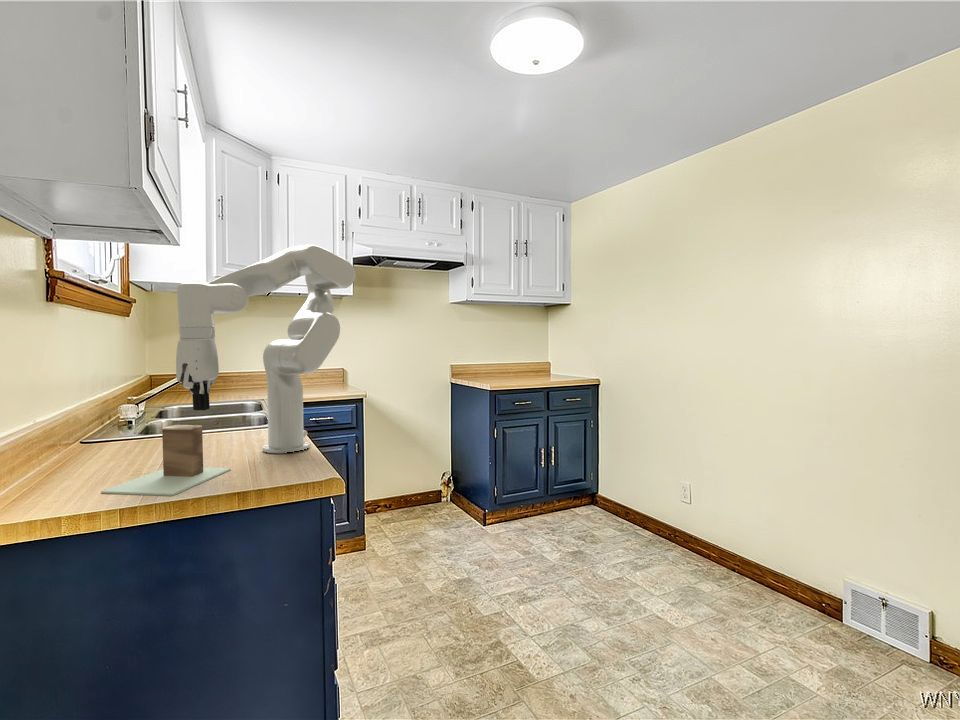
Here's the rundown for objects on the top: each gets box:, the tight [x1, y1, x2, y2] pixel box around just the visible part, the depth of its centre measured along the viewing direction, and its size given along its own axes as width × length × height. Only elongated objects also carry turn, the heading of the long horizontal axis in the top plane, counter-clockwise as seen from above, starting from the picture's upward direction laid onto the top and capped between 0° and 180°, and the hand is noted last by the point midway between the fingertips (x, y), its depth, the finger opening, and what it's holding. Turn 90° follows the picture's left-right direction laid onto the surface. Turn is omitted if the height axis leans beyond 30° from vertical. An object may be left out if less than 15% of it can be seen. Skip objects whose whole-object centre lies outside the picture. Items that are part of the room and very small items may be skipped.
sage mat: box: [100, 467, 232, 497], centre depth 115 cm, size 20×16×1 cm
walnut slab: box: [161, 424, 204, 477], centre depth 119 cm, size 4×7×11 cm, turn 84°
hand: (201, 409), depth 125 cm, fingers closed
